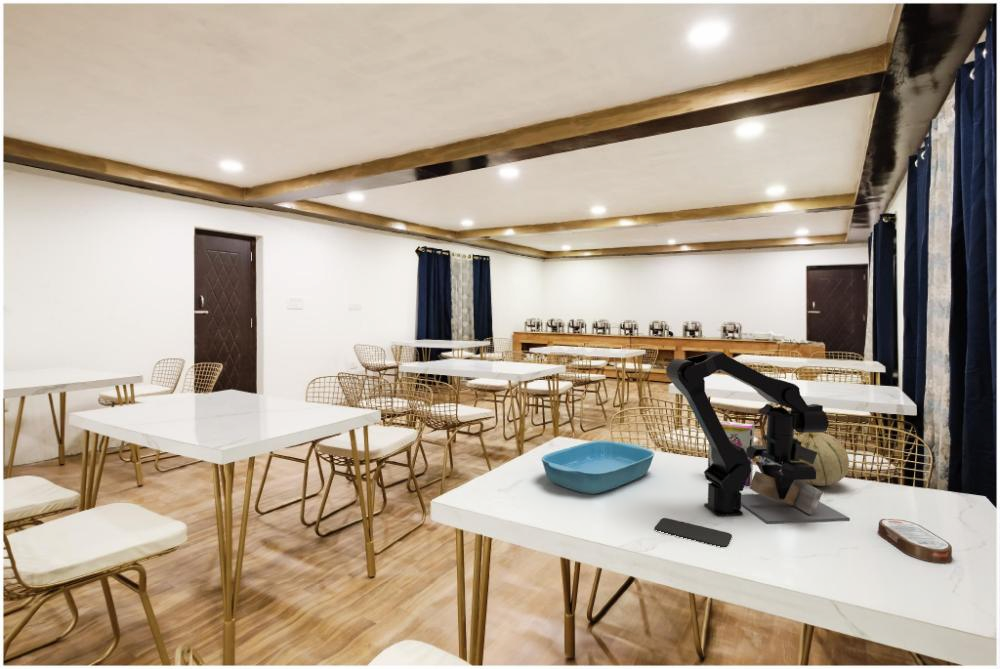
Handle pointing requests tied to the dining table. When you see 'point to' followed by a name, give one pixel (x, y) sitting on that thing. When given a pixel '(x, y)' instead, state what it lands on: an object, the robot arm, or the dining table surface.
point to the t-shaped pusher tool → (797, 494)
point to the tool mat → (786, 511)
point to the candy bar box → (738, 440)
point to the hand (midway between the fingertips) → (777, 496)
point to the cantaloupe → (825, 458)
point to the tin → (915, 540)
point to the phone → (694, 532)
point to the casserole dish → (597, 465)
